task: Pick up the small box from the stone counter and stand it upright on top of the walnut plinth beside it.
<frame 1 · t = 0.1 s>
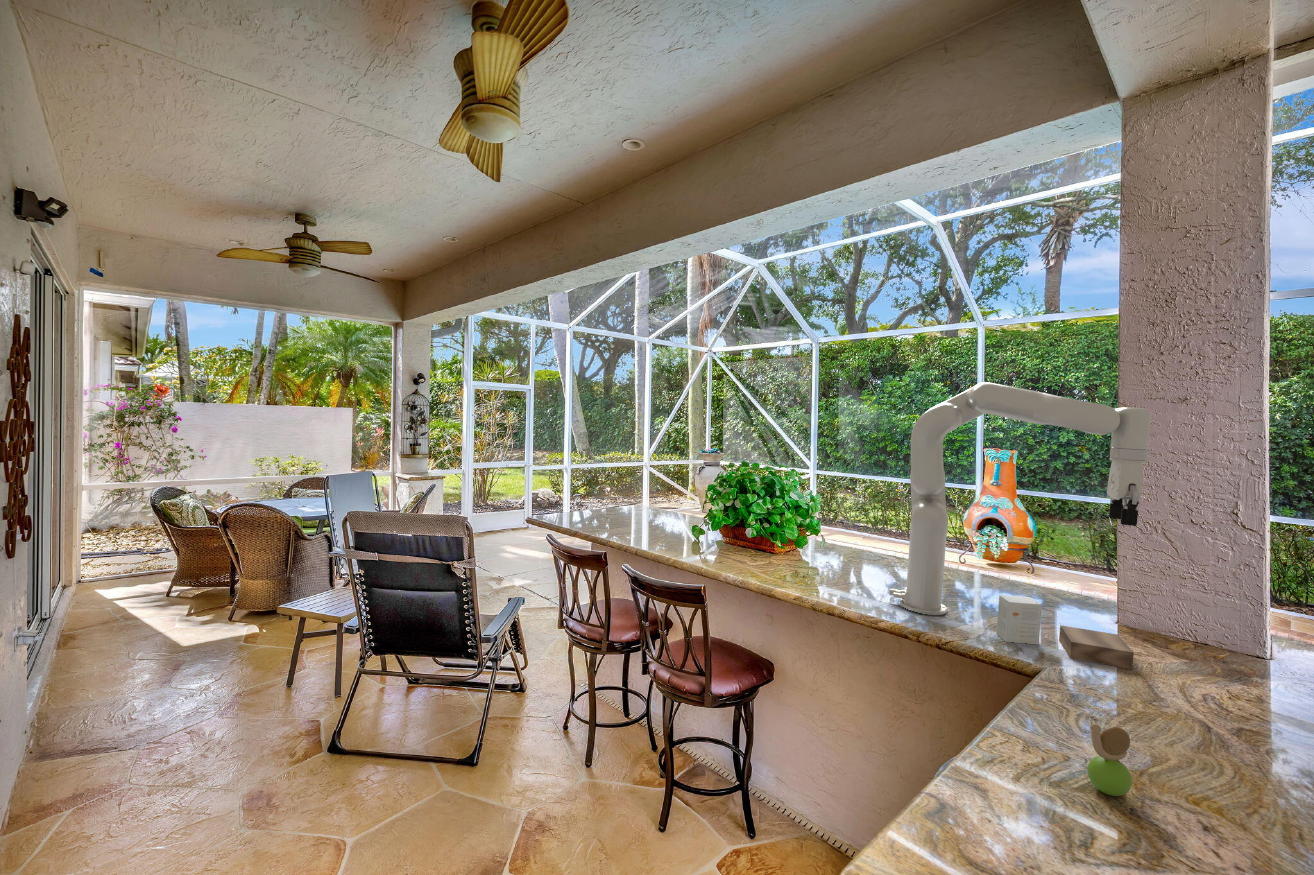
hand: (1122, 521, 152), 31 cm above the countertop, tool pointing down, fingers open, 9 cm apart
small box: (1016, 640, 151), on the countertop
snail figurine: (1104, 793, 90), on the countertop
walnut plinth: (1093, 654, 144), on the countertop
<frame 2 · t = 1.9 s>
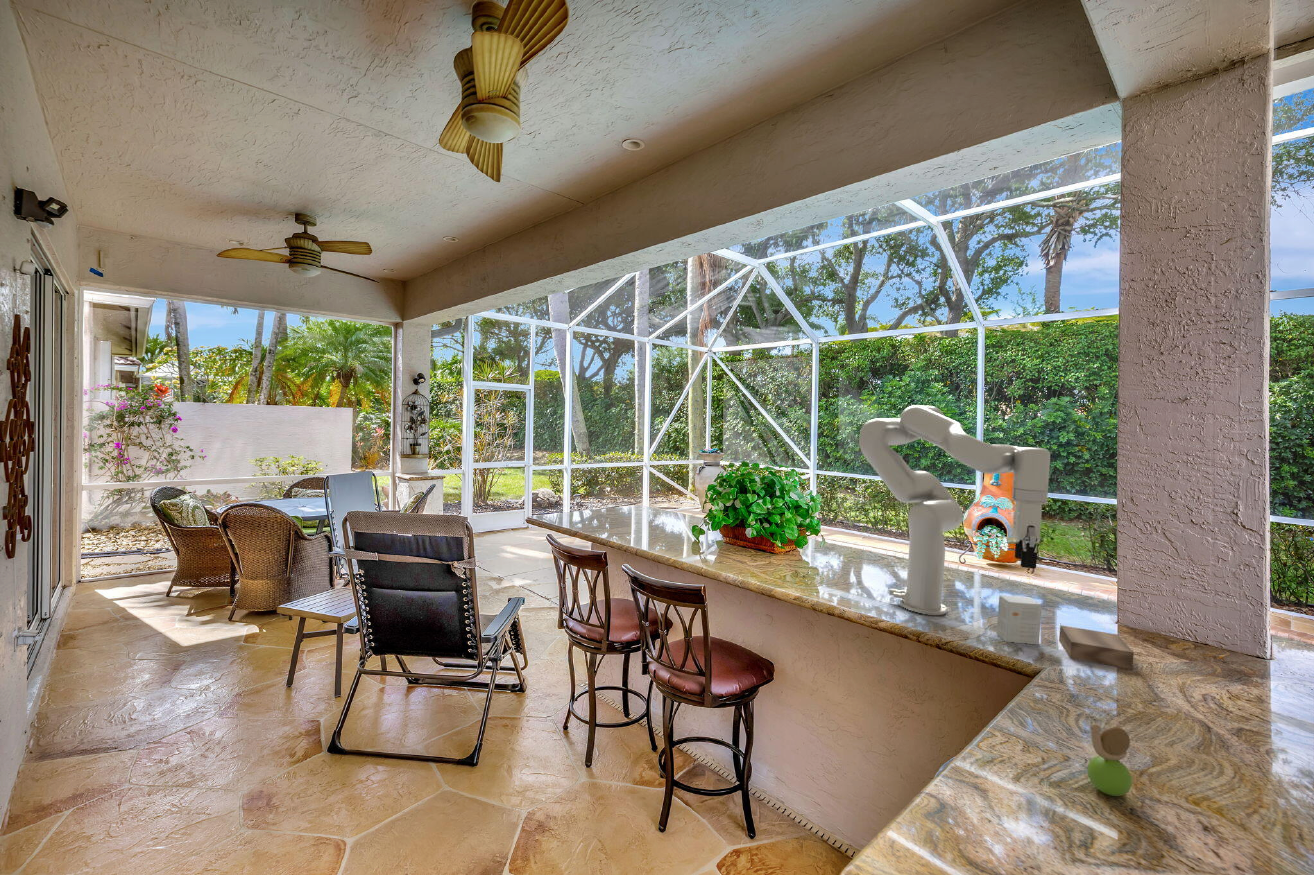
hand: (1024, 563, 149), 20 cm above the countertop, tool pointing down, fingers open, 9 cm apart
nothing on the countertop moved.
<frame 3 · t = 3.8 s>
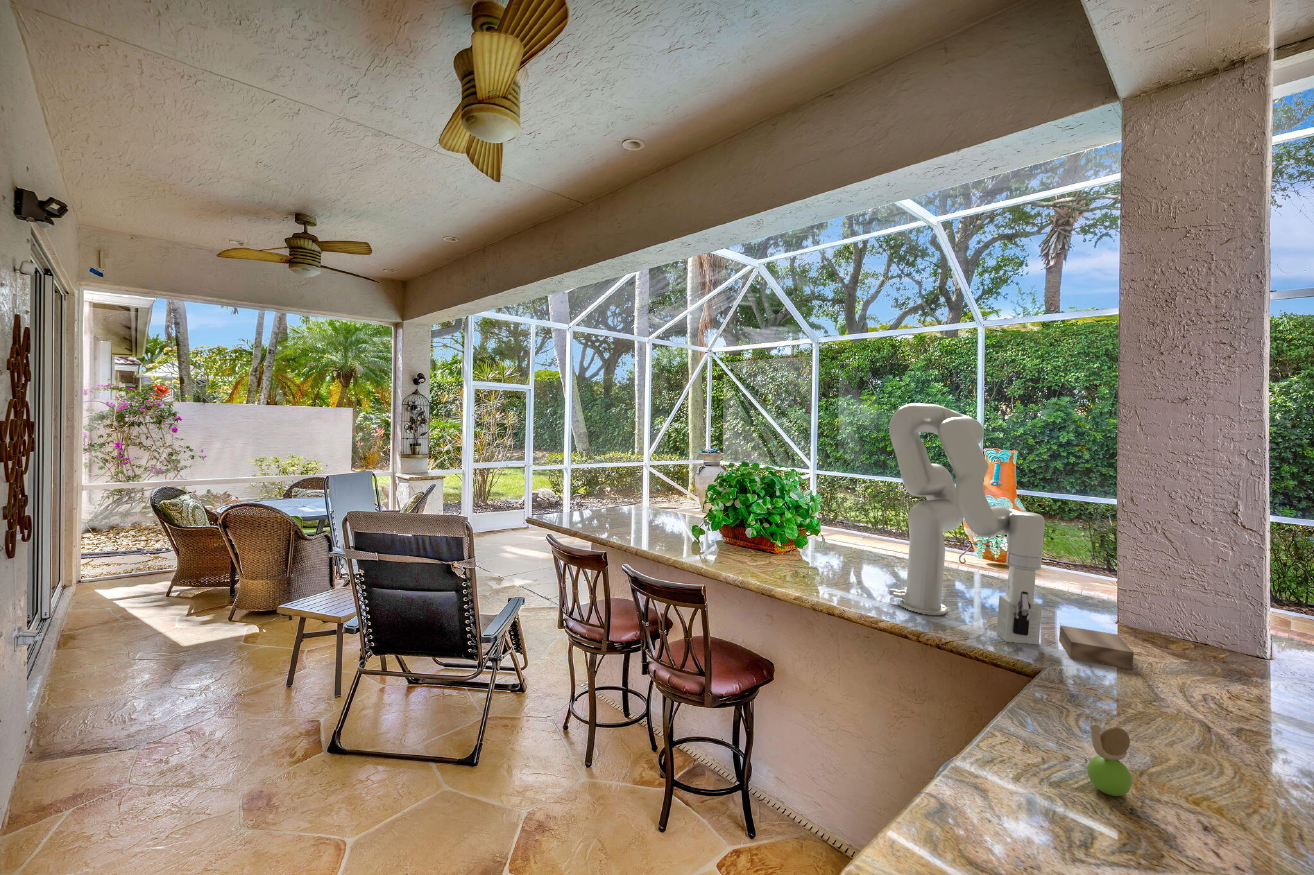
hand: (1018, 628, 151), 3 cm above the countertop, tool pointing down, fingers closed on small box, 6 cm apart
small box: (1016, 640, 151), on the countertop, touching gripper
everything else where it was.
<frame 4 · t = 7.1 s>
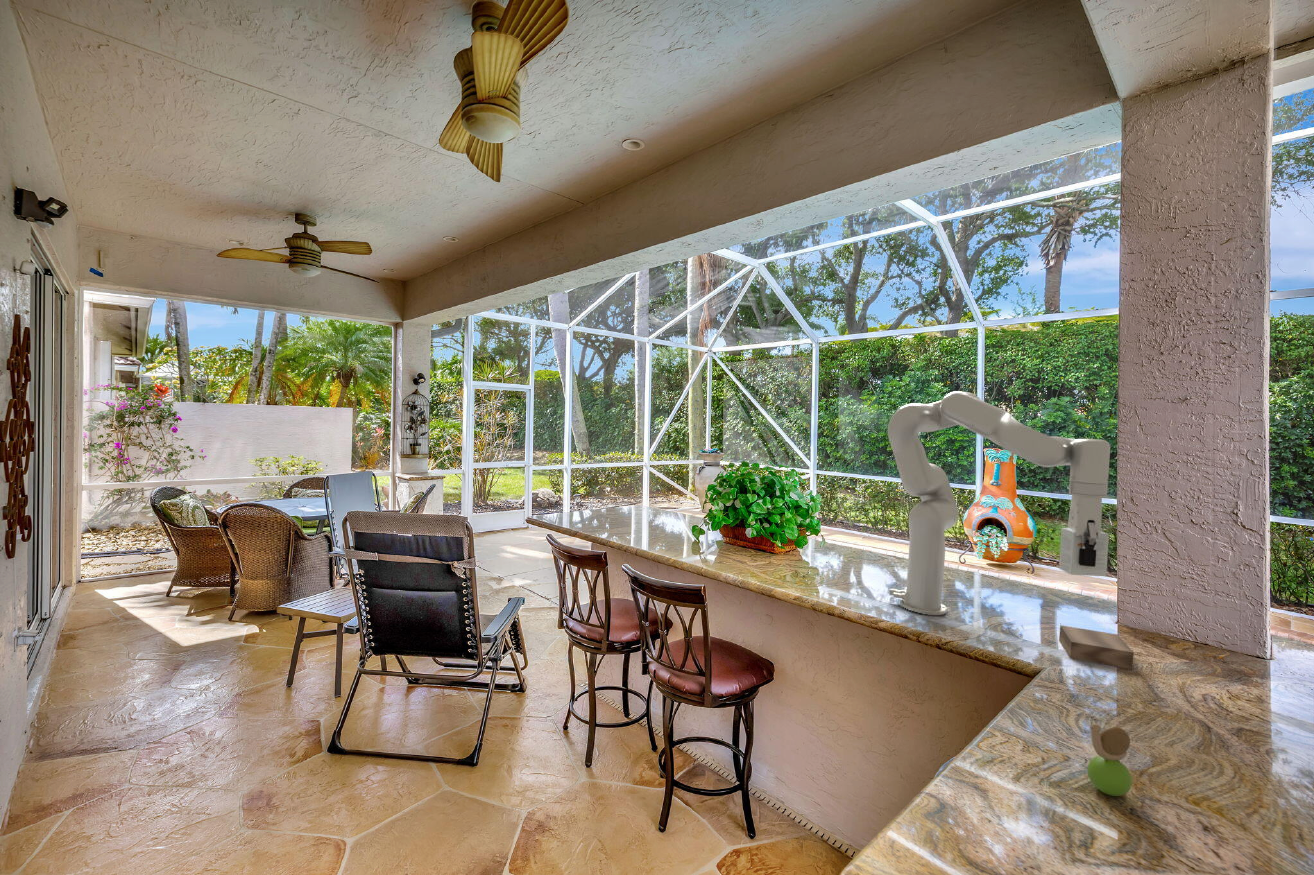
hand: (1083, 561, 144), 22 cm above the countertop, tool pointing down, fingers closed on small box, 6 cm apart
small box: (1081, 573, 144), point 19 cm above the countertop, touching gripper
everything else where it was.
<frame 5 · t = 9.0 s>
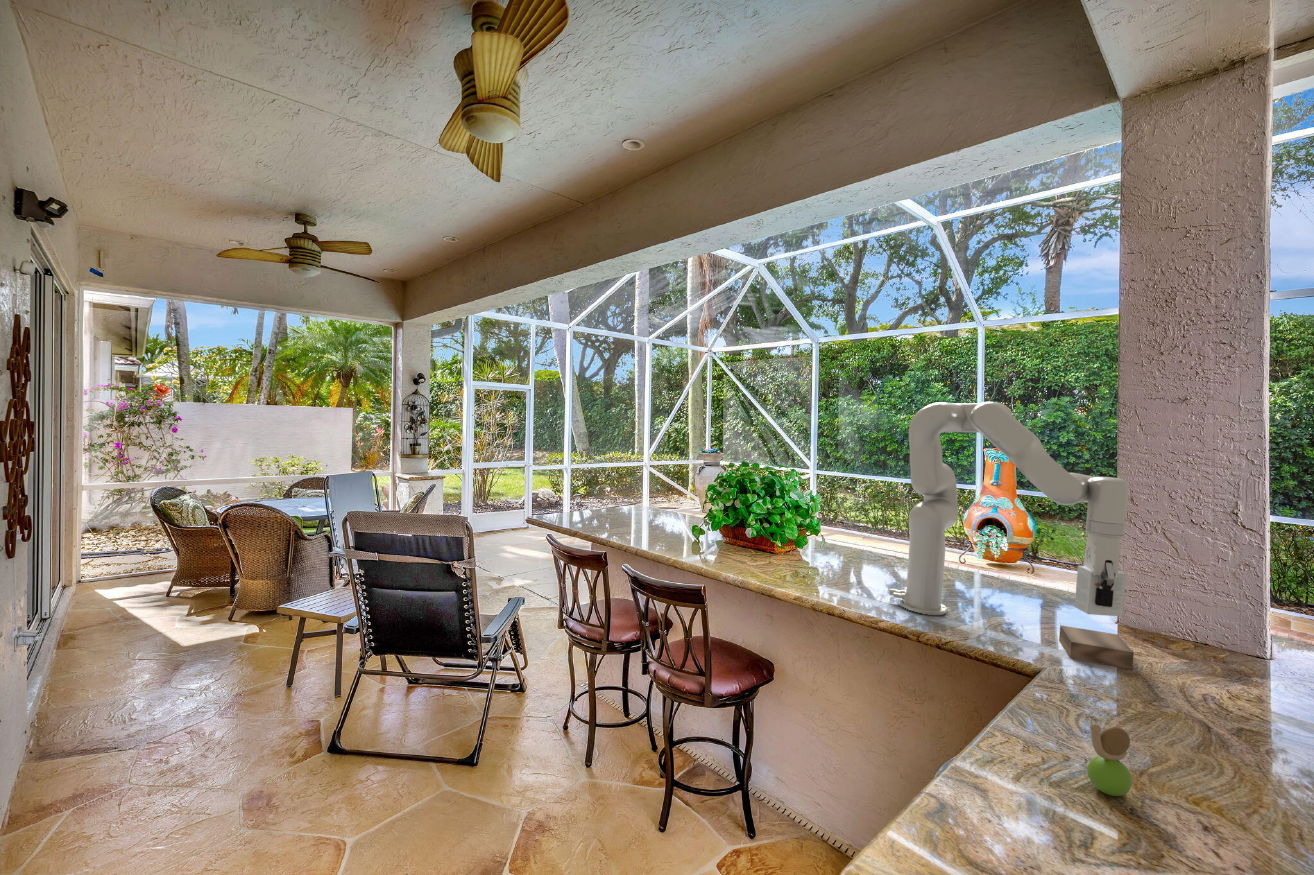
hand: (1099, 600, 143), 13 cm above the countertop, tool pointing down, fingers closed on small box, 6 cm apart
small box: (1097, 612, 143), point 10 cm above the countertop, touching gripper
everything else where it was.
when the fingers open (8 cm above the countertop, at t = 10.5 s): small box drops 1 cm, resting on walnut plinth.
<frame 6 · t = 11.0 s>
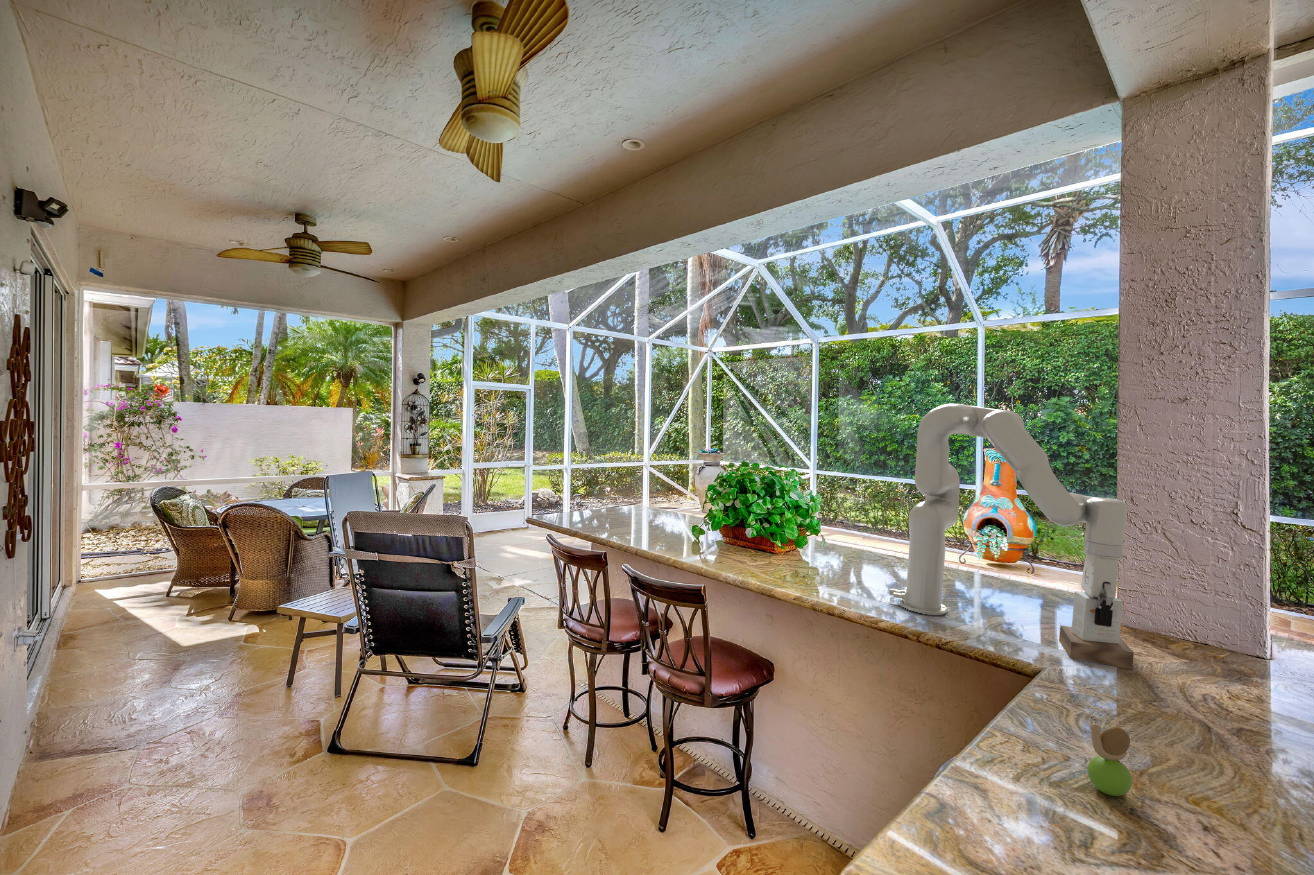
hand: (1096, 618, 143), 9 cm above the countertop, tool pointing down, fingers open, 9 cm apart
small box: (1094, 639, 143), point 4 cm above the countertop, touching walnut plinth
everything else where it was.
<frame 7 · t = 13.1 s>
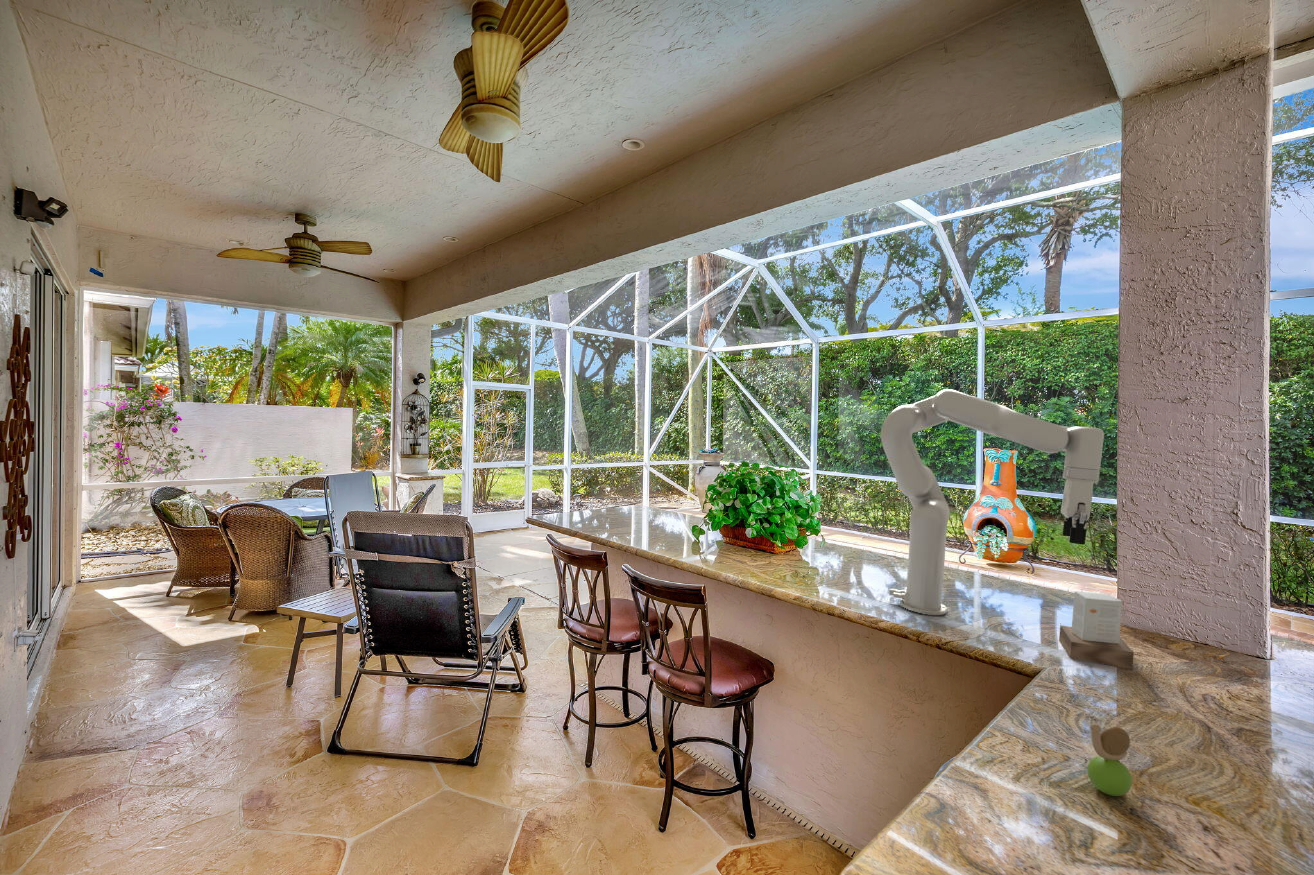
hand: (1073, 539, 153), 26 cm above the countertop, tool pointing down, fingers open, 9 cm apart
nothing on the countertop moved.
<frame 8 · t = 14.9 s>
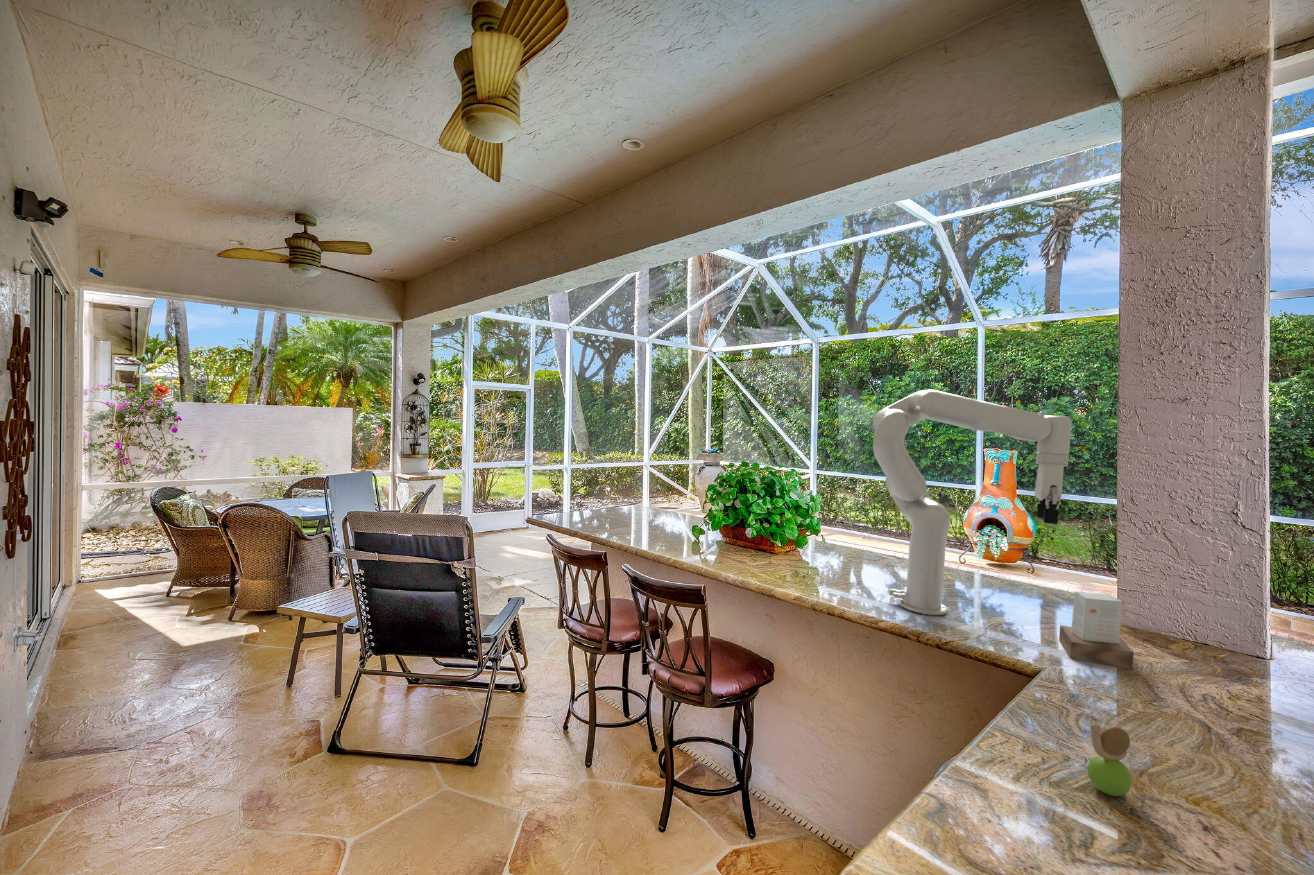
hand: (1046, 520, 165), 28 cm above the countertop, tool pointing down, fingers open, 9 cm apart
nothing on the countertop moved.
at the end: small box inside the target area on the walnut plinth (0.2 cm from its centre), point 3.8 cm above the walnut plinth's base; small box tilted 0°; the gripper is holding nothing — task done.
